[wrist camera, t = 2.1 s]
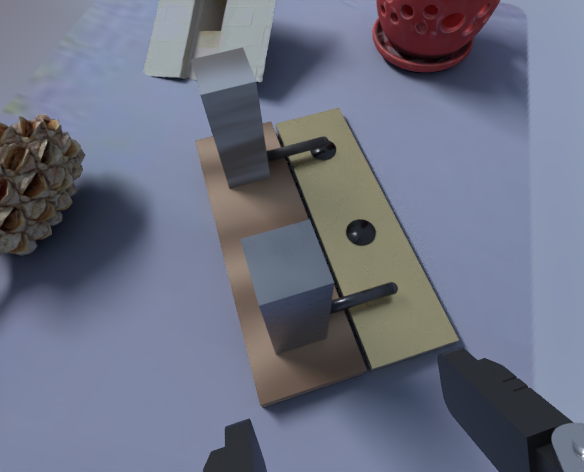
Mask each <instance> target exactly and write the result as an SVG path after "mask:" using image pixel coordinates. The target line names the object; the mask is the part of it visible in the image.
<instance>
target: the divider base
mask: <svg viewBox="0 0 584 472" xmlns="http://www.w3.org/2000/svg"><path fill="white" fill-rule="evenodd" d="M191 62H192V66H193V70H194V73H195V77H196V80H197V84H198V88H199V91H200V95H201V98H202V101H203V105H204V108H205V111H206V114H207V118H208V121H209V124H210V127H211V131H212V134H213V136H212V137H208V138H204V139H200V140H196V141H195V142H196V146H197V150H198V154H199V158H200V162H201V166H202V170H203V174H204V178H205V182H206V186H207V190H208V195H209V199H210V203H211V207H212V211H213V215H214V219H215V223H216V227H217V231H218V235H219V239H220V243H221V247H222V251H223V256H224V260H225V264H226V268H227V272H228V276H229V280H230V284H231V288H232V292H233V296H234V300H235V304H236V308H237V312H238V317H239V321H240V325H241V329H242V333H243V337H244V341H245V345H246V349H247V353H248V357H249V361H250V365H251V369H252V373H253V378H254V382H255V386H256V390H257V394H258V398H259V402H260V405H261V406H262V407H266V406H269V405H272V404H275V403H278V402H281V401H284V400H287V399H290V398H293V397H296V396H299V395H302V394H305V393H308V392H311V391H314V390H317V389H320V388H323V387H326V386H329V385H332V384H335V383H338V382H341V381H344V380H347V379H350V378H353V377H356V376H359V375H362V374H365V372H366V370H367V369H366V366H365V363H364V361H363V358H362V356H361V353H360V350H359V348H358V345H357V343H356V340H355V337H354V335H353V332H352V330H351V327H350V325H349V322H348V319H347V317H346V314H345V312H344V310H343V311H340V312H337V313H334V314H330V319H329V327H328V334H327V338H326V339H323V340H320V341H317V342H314V343H311V344H308V345H304V346H301V347H298V348H295V349H292V350H289V351H286V352H283V353H280V354H276V353H275V351H274V348H273V345H272V342H271V339H270V336H269V334H268V331H267V328H266V325H265V322H264V319H263V316H262V314H261V311H260V308H259V305H258V301H257V298H256V294H255V290H254V287H253V283H252V280H251V276H250V272H249V269H248V265H247V261H246V258H245V254H244V251H243V247H242V243H241V240H240V239H243V238H246V237H250V236H253V235H257V234H260V233H264V232H267V231H271V230H274V229H278V228H281V227H285V226H288V225H292V224H295V223H299V222H302V221H306V220H309V219H308V216H307V213H306V211H305V208H304V206H303V203H302V200H301V198H300V195H299V193H298V190H297V188H296V185H295V182H294V180H293V177H292V175H291V172H290V169H289V167H288V164H287V162H286V159H285V157H288V156H292V155H295V154H299V153H303V152H307V151H310V150H314V149H318V148H322V147H325V146H327V145H328V143H329V140H328V138H327V137H325V136H322V137H318V138H315V139H311V140H307V141H303V142H299V143H296V144H292V145H288V146H284V147H281V146H280V144H279V141H278V138H277V136H276V133H275V131H274V128H273V126H272V123H271V122H267V123H263V124H262V117H261V111H260V104H259V97H258V90H257V84H256V80H255V77H254V75H253V72H252V69H251V67H250V64H249V62H248V59H247V57H246V54H245V51H244V49H243V47H242V48H238V49H234V50H229V51H225V52H221V53H216V54H212V55H208V56H203V57H199V58H195V59H191ZM337 298H339V296H338V294H337V291H336V288H335V286H334V289H333V296H332V300H334V299H337Z"/></svg>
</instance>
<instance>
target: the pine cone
mask: <svg viewBox="0 0 584 472" xmlns="http://www.w3.org/2000/svg"><path fill="white" fill-rule="evenodd" d="M84 157H85V154H84V152H83V151H82V149H81V146H80V145H79V143H78V142H77V141H76V140H73V139H71V138H70V136H69V134H68V132H62V130H61V125H60V124H59V120H54V119H50V118H49V117H48V115H44V114H40V113H39V114H38V115H37V116H36V118H35V119H33V120H30V121H27V120H26V119H25V118H23V117H19V121H18V123H17V124H13V125H12V126H10V127H8V126H7V125H5V124H2V123H0V255H1V254H5V253H15V254H18V255H21V256H22V255H26V254H30V253H32V252H33V251H34V250H35V248H36V247H37V244H36V242H35V241H36V240H38V239H44V238H46V237H48V236H50V235H52V231H51V227H50V226H54V225H56V224H58V223H59V222H61V221H62V213H61V212H60V211H61V210H65V209H68V208H69V206H70V205H71V204H72V203H73V202H72V200H71V197H70V196H72V195H74V194H75V193H76V192H77V191H78V190H77V189H76V187H75V186H74V185H73V184H74V183H73V182H74V181H75V180H76V179H77V178H79V177H80V175H81V173H82V171H83V168H82V166H81V163H82V161H83V159H84Z"/></svg>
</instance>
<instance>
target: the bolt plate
mask: <svg viewBox="0 0 584 472" xmlns="http://www.w3.org/2000/svg"><path fill="white" fill-rule="evenodd" d="M276 129H277V133H278V135H279V138H280V140H281V143H282V146H283V147H284V146H288V145H292V144H296V143H299V142H303V141H307V140H311V139H315V138H318V137H322V136H325V137H327V138H328V140H329V143H328V145H327V146H325V147H322V148H318V149H314V150H310V151H307V152H303V153H299V154H295V155H292V156H288V157H287V158H288V161H289V163H290V166H291V169H292V171H293V174H294V176H295V179H296V181H297V184H298V187H299V189H300V192H301V194H302V197H303V199H304V202H305V204H306V207H307V210H308V212H309V215H310V217H311V220H312V222H313V225H314V227H315V230H316V233H317V235H318V238H319V240H320V243H321V245H322V248H323V251H324V253H325V256H326V258H327V261H328V263H329V266H330V268H331V271H332V274H333V276H334V279H335V281H336V284H337V286H338V289H339V291H340V294H341V297H343V296H347V295H350V294H353V293H356V292H360V291H363V290H366V289H369V288H372V287H376V286H379V285H382V284H385V283H389V282H394V283H396V284H397V286H398V291H397V293H396V294H394V295H391V296H388V297H385V298H381V299H378V300H375V301H372V302H369V303H365V304H362V305H359V306H356V307H353V308H350V309H347V312H348V315H349V317H350V320H351V322H352V325H353V327H354V330H355V332H356V335H357V338H358V340H359V343H360V345H361V348H362V350H363V353H364V355H365V358H366V361H367V363H368V366H369V368H370V371H374V370H377V369H380V368H382V367H385V366H388V365H391V364H394V363H397V362H400V361H403V360H406V359H409V358H412V357H415V356H418V355H421V354H424V353H427V352H430V351H433V350H436V349H439V348H442V347H445V346H448V345H451V344H454V343H456V342H457V341H458V340H459V339H458V337H457V335H456V333H455V331H454V329H453V327H452V325H451V323H450V321H449V319H448V318H447V316H446V314H445V312H444V310H443V308H442V306H441V304H440V302H439V300H438V298H437V296H436V294H435V292H434V291H433V289H432V287H431V285H430V283H429V281H428V279H427V277H426V275H425V273H424V271H423V269H422V267H421V265H420V264H419V262H418V260H417V258H416V256H415V254H414V252H413V250H412V248H411V246H410V244H409V242H408V240H407V238H406V237H405V235H404V233H403V231H402V229H401V227H400V225H399V223H398V221H397V219H396V217H395V215H394V213H393V211H392V209H391V208H390V206H389V204H388V202H387V200H386V198H385V196H384V194H383V192H382V190H381V188H380V186H379V184H378V182H377V181H376V179H375V177H374V175H373V173H372V171H371V169H370V167H369V165H368V163H367V161H366V159H365V157H364V155H363V154H362V152H361V150H360V148H359V146H358V144H357V142H356V140H355V138H354V136H353V134H352V132H351V130H350V128H349V127H348V125H347V123H346V121H345V119H344V117H343V115H342V113H341V111H340V109H339V108H336V109H332V110H328V111H324V112H320V113H316V114H313V115H309V116H305V117H301V118H297V119H293V120H289V121H285V122H281V123H277V124H276Z"/></svg>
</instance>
